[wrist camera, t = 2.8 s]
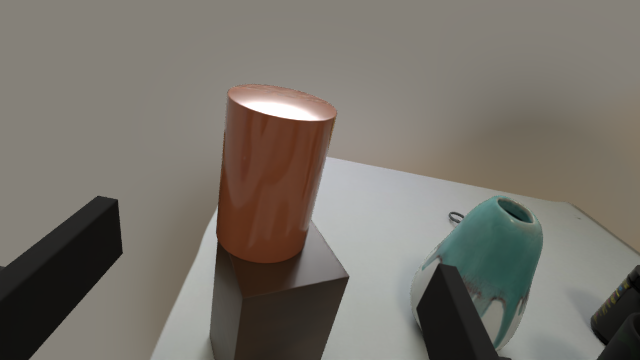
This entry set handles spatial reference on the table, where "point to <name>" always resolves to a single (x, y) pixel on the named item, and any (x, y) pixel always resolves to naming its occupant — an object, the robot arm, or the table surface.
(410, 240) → the table surface
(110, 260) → the robot arm
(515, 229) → the vase
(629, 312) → the supplement container
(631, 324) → the cup
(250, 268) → the dark brown rectangular block
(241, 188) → the orange glossy cylinder
